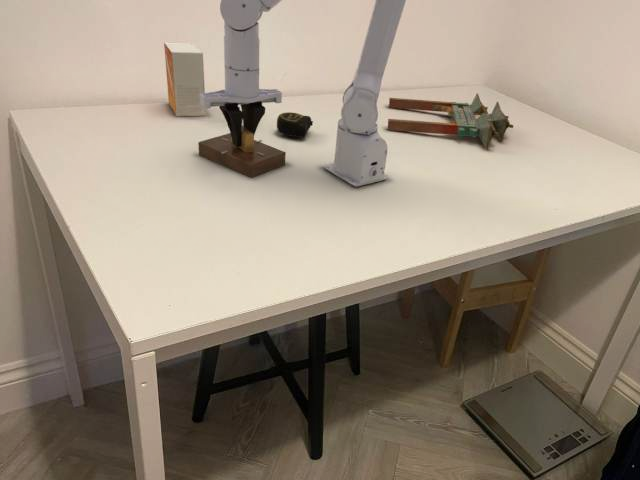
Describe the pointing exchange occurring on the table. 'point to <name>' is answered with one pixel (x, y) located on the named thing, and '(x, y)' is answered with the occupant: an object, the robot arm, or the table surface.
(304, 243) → the table surface
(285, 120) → the tape measure
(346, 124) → the robot arm
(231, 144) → the plate
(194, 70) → the small box
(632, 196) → the table surface
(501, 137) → the miniature gate
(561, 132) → the table surface
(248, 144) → the thumb turn
